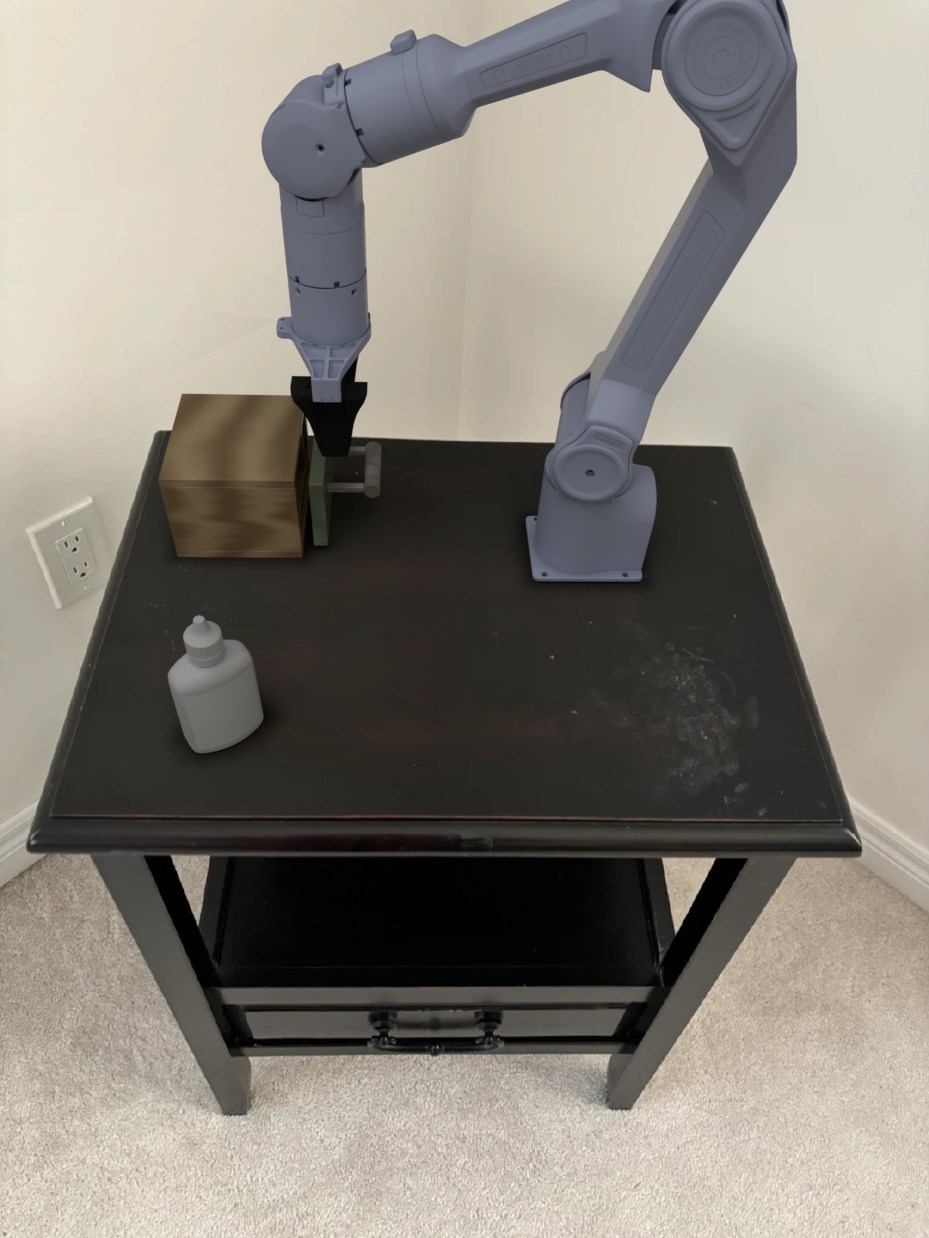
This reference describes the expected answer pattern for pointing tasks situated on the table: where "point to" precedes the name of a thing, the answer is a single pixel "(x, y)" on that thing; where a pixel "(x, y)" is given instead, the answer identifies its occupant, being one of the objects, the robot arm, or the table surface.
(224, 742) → the eye dropper bottle
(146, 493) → the table surface
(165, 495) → the cabinet
